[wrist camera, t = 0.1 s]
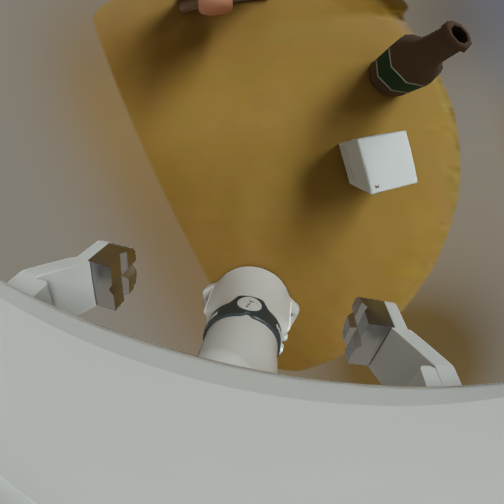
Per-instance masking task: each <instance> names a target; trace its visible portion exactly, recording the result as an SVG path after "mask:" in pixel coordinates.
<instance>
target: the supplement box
mask: <svg viewBox="0 0 504 504" xmlns="http://www.w3.org/2000/svg"><path fill="white" fill-rule="evenodd" d="M339 147H340V151H341V155H342V158H343V162H344V165H345V169H346V172H347V176H348V180H349V184H351V185H354V186H356V187H358V188H360V189H361V190H363V191H365V192H367V193H369V194H371V195H372V194H376V193H379V192H383V191H387V190H390V189H394V188H397V187H401V186H405V185H409V184H413V183H417V177H416V172H415V167H414V162H413V158H412V153H411V149H410V145H409V141H408V137H407V134H406V131H398V132H391V133H385V134H377V135H372V136H367V137H362V138H358V139H354V140H350V141H346V142H342V143H339Z"/></svg>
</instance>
